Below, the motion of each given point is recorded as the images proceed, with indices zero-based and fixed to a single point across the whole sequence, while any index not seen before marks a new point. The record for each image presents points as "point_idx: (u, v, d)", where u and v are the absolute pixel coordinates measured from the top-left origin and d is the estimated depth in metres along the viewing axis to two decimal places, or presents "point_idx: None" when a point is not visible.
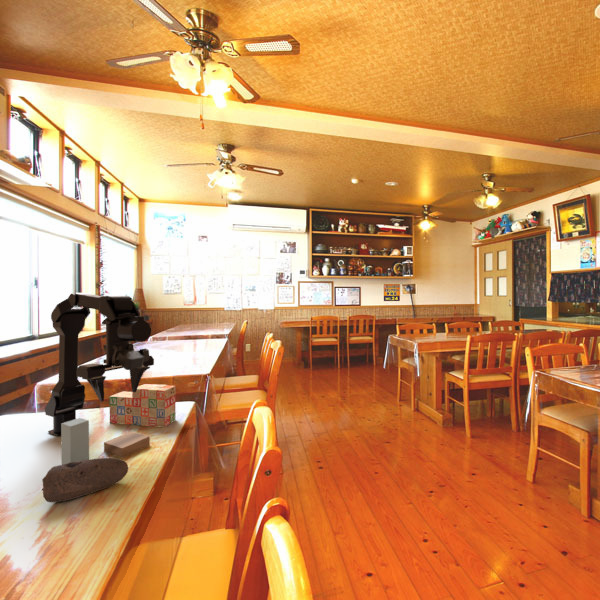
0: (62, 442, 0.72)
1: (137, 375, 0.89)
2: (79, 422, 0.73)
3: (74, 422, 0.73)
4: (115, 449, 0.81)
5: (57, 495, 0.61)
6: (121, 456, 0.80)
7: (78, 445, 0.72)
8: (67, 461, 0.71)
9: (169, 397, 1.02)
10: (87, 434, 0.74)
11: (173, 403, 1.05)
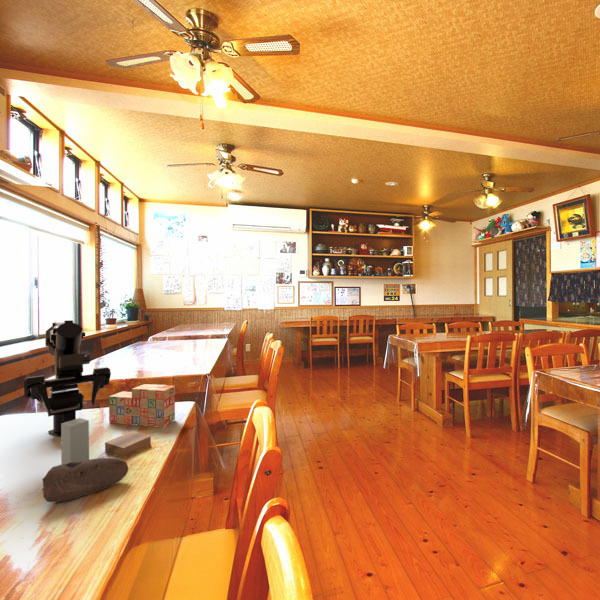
0: (62, 442, 0.72)
1: (93, 386, 0.85)
2: (79, 422, 0.73)
3: (74, 422, 0.73)
4: (116, 449, 0.81)
5: (57, 495, 0.61)
6: (122, 456, 0.80)
7: (78, 445, 0.72)
8: (67, 461, 0.71)
9: (168, 397, 1.02)
10: (87, 434, 0.74)
11: (172, 403, 1.04)
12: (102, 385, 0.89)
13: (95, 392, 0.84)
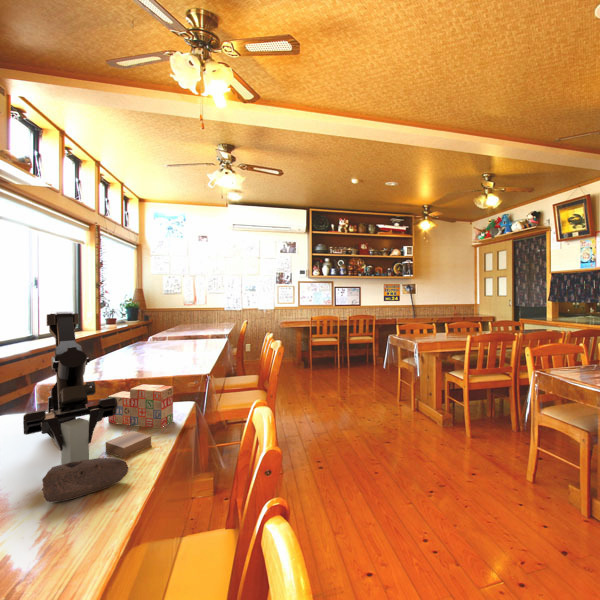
0: (62, 442, 0.72)
1: (89, 421, 0.77)
2: (79, 422, 0.73)
3: (74, 422, 0.73)
4: (116, 449, 0.81)
5: (57, 495, 0.61)
6: (123, 456, 0.80)
7: (78, 445, 0.72)
8: (67, 461, 0.71)
9: (166, 398, 1.02)
10: (87, 434, 0.74)
11: (170, 404, 1.04)
12: (100, 418, 0.81)
13: (92, 428, 0.76)
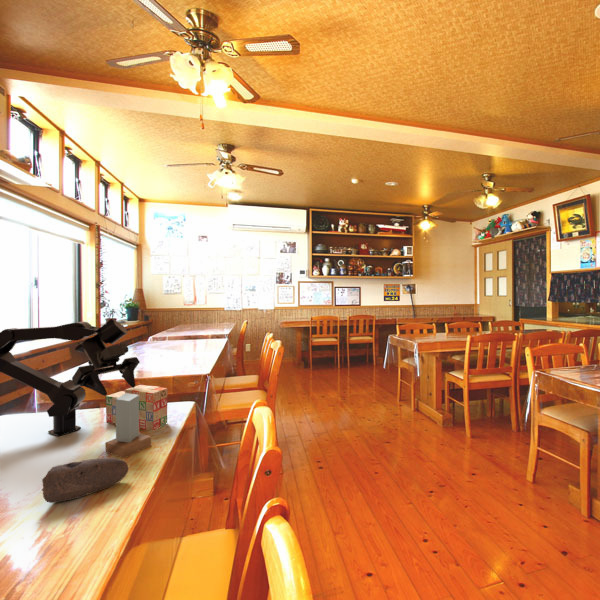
0: (117, 414, 0.83)
1: (129, 372, 1.00)
2: (132, 397, 0.84)
3: (128, 397, 0.84)
4: (116, 449, 0.81)
5: (57, 495, 0.61)
6: (123, 456, 0.80)
7: (133, 416, 0.84)
8: (125, 429, 0.83)
9: (159, 400, 1.00)
10: (138, 406, 0.86)
11: (164, 406, 1.02)
12: None
13: (133, 377, 1.00)
